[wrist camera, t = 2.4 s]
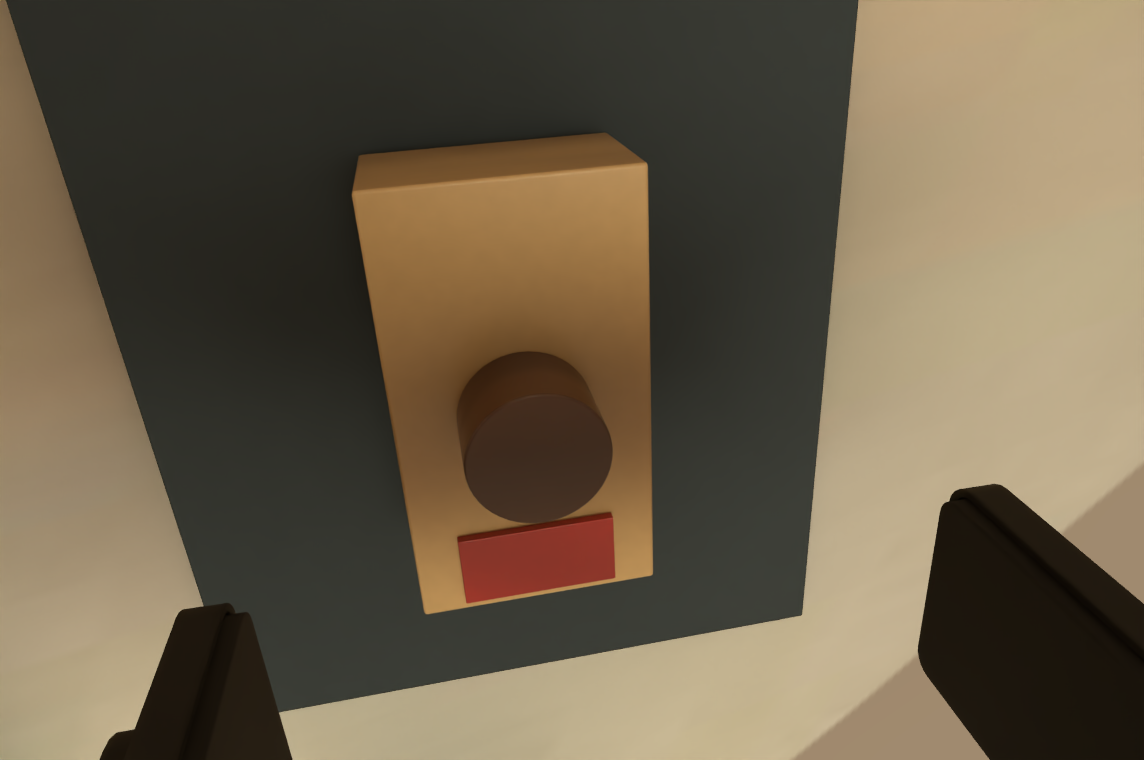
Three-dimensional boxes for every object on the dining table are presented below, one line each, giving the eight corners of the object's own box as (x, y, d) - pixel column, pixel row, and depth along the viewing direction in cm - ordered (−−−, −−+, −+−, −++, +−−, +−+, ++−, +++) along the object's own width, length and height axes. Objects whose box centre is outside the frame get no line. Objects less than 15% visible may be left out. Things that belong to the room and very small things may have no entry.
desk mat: (-39, -165, 14) (-51, -168, 13) (866, -195, 16) (877, -199, 16) (242, 708, 23) (240, 720, 22) (796, 606, 25) (802, 616, 25)
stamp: (358, 150, 17) (344, 220, 12) (603, 128, 17) (681, 186, 13) (419, 519, 21) (427, 680, 16) (616, 489, 21) (678, 634, 17)
